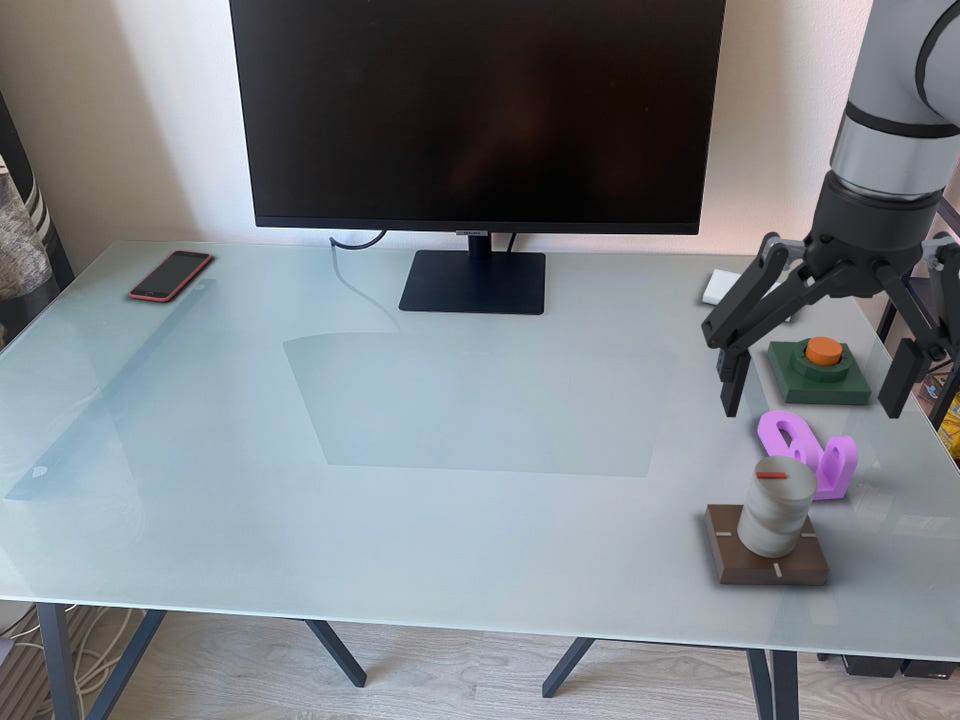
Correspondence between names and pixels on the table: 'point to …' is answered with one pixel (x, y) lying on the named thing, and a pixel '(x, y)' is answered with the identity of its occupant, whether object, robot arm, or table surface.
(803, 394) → the switchbox
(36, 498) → the table surface
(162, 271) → the smartphone
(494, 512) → the table surface
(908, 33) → the robot arm
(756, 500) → the dial
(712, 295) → the hard drive
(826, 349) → the button
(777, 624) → the table surface
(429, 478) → the table surface
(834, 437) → the bracket
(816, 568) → the panel
